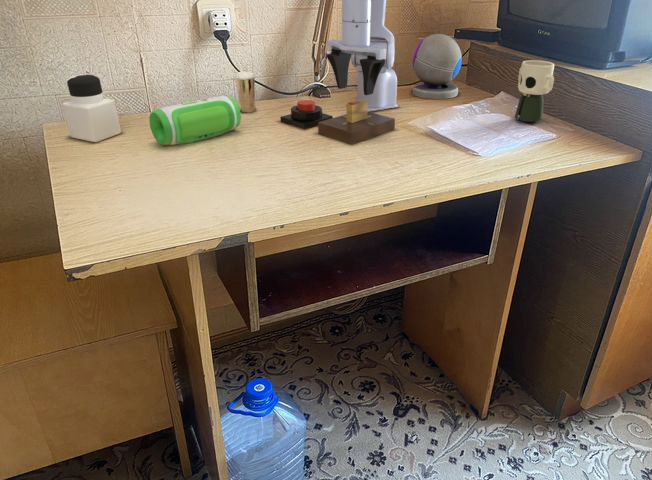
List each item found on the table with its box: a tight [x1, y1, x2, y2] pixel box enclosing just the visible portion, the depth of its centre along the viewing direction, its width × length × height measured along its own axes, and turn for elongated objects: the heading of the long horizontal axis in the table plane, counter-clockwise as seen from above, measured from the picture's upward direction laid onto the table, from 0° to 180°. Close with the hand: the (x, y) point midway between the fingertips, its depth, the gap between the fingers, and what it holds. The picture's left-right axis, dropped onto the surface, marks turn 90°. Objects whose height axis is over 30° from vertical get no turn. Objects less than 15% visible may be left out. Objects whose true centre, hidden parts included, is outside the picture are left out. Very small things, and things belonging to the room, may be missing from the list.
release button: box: [296, 99, 316, 111], centre depth 124 cm, size 4×4×2 cm
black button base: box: [280, 104, 334, 130], centre depth 125 cm, size 9×8×3 cm
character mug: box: [514, 59, 555, 123], centre depth 126 cm, size 11×7×13 cm, turn 26°
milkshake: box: [234, 64, 256, 113], centre depth 130 cm, size 4×5×10 cm
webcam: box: [412, 33, 463, 100], centre depth 146 cm, size 13×13×15 cm
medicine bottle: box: [61, 74, 122, 143], centre depth 112 cm, size 7×7×12 cm
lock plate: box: [317, 111, 396, 145], centre depth 119 cm, size 14×10×3 cm
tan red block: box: [346, 100, 368, 123], centre depth 118 cm, size 5×2×4 cm, turn 138°
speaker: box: [149, 95, 242, 146], centre depth 113 cm, size 18×7×8 cm, turn 134°
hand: (355, 91), depth 115 cm, fingers open, 7 cm apart
